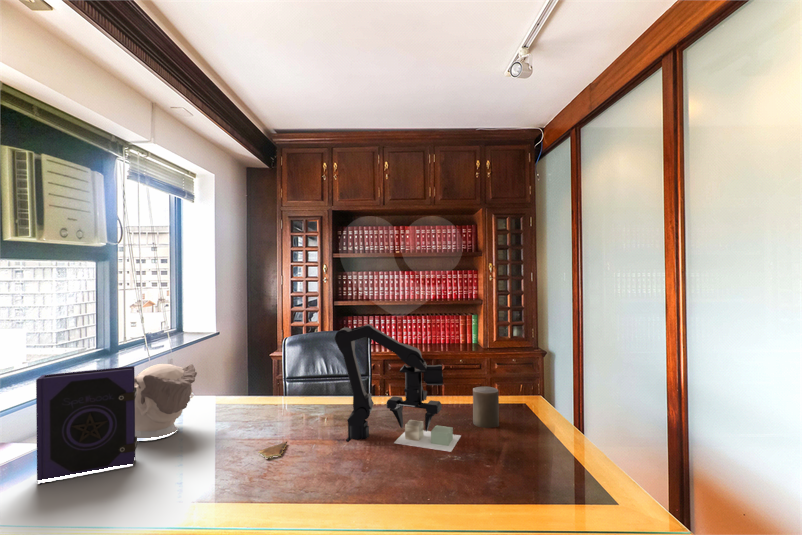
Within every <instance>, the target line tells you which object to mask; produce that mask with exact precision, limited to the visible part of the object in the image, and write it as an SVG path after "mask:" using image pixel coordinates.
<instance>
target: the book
mask: <svg viewBox="0 0 802 535" xmlns="http://www.w3.org/2000/svg"><path fill="white" fill-rule="evenodd" d="M135 377H136V376H135V365H131V366H120V367H119V366H118V367H110V368H99V369H89V370H88V369H87V370H77V371H72V372H71V371H69V372H60V373H49V374H41V375H40V376H39V377H37V378H36V379H35V388H36V389H35V390H36V391H35V392H36V397H35V398H36V399H35V400H36V404H35V405H36V407H35V408H36V481H37V480H42V479H48V478H54V477H60V476H65V475H70V474H76V473H82V472H87V471H92V470H99V469H104V468H108V467H113V466H120V465H127V464H133V463H134V464H135V461H134V457H135V458H136V451H137V450H136V448H137V446H138V441H137V436H136V437H135V398H136V395H137V387H135Z"/></svg>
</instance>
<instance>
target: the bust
mask: <svg viewBox="0 0 802 535" xmlns="http://www.w3.org/2000/svg"><path fill="white" fill-rule="evenodd" d="M197 374H198V372H197V371H196V369H195V367H194V364H193V363H192V364H189V365H188V366H185V367H181V366H178V365H174V364H170V363H157V364H154V365H151V366H149V367H146V368H145V369H144V370H142V371H141V372H139V373H138V374H137V375H136V376H135V387H137V395H136V398H135V437H136V436H137V438H151V437H159V436H163V435H167V434H170V433H172V432H175V431H176V430H177V428H178V427H177V426H176V425H175V422H176V420H177V419H179V417H180V416H181V415H182V413H183V410H185V409H186V408H187V406H188V404H189V403H190V402H191V395H192V393H193V387H192V384H193V383H195V380H196V376H198V375H197Z"/></svg>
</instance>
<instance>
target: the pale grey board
mask: <svg viewBox="0 0 802 535" xmlns="http://www.w3.org/2000/svg"><path fill="white" fill-rule="evenodd" d="M431 431H432V430H431ZM431 431H430V430H428V431H427V432H426V430H424V429H423V435H424V436H423V437H422V438H421V439H420V440H419V441H416V440H409V439H405V431H404V432H402V434H401V435H400V436H399V437H398V438H397V439H396V440H395V441H394V442H393V444H397V445H403V446H411V447H417V448H423V449H431V450H436V451H445V452H449V453H450V452H451V453H452V451H453V449H454V448H455V446H456V445H457V443H458V442H459V441H460V439H461V437H462V435H460V434H454V433H453V440H452V441H451V443H450V444H449V446H446V445H439V444H432V443H431Z"/></svg>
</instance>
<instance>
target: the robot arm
mask: <svg viewBox="0 0 802 535" xmlns="http://www.w3.org/2000/svg"><path fill="white" fill-rule="evenodd" d="M363 338H368V339H370V340H371V341H373V342H375V343H377V344H378V345H380V346H381V347H383V348H385V349H387V350H389V351H390V352H392V353H393V354H395V355H396V356H397V357H398V358H399V359H400V360H401V361H402V362H403V363H405V364H404V365H403V366H402V367H401V368H400V370H399V373H402V374H404V375H405V378H404V379H405V385H404V387H405V388H404V389H403V391H404V393H405V400H403V397H402V396H394V395H393V396H391V397H390V398H389V399H387V401H386V402H385V403H386V406H385V407H386V409H389V412H392V414H393V416H394V417H395V418H396V420H397V423H398V425H399V427H400V429H403V427H404V418H403V417H404V415H403V409H404V407H407V408H414V409H415V408H416V409H424V410H425V414H424V418H425V419H424V429H425V430H424V431H426V432H427V431H429V426H430V425H431V420H432V418H433V417H434V416H435V415H437V414H439V413H440V411H441V410H443V409H442V406H443V404H442V403H441V401H440V400H431V399H430V400H429V401H427V402H424V401H426V400H427V398H428V397H427V395H428V391H427V390H425V389H424V387H423V386H424V385H423V384H422V382H423V383H425V384H426V386H443V385H444V375H443V365H442V364H436V365H434V364H433V365H431V364H428V365H427V362H426V360H424V358H423V357H422V352H421V350H420V349H419V348H418V347H415V346H412V345H411V344H410V345H409V344H406V343H402V342H400V341H398V340H396V339H395V338H393V337H391V336H390V335H388V334H386V333H385V332H382V331H381V330H379V329H377V328H376V327H374V326H373V325H372V324H370V323H369V324H368V323H367V324H365V325H361V326H356V327H353V328H350V327H346V326H345V327H343V328H341V329H340V330H338V331H337V332H336V333H335V335H334V341H335V343H336V346H337V348H338V350H339V351H340V353H341V355H342V356H343V361H344V364H345V368H346V372H347V376H348V380H349V382H350V383H349V384H350V386H351V392H352V407H353V408H352V409H353V410H352V411H351V413H350V415H349V416H348V418H347V438H346V439H345V441H346V442H350V441H351V440H356V441H359V440H367V439H369V437H370V426H369V425H368V422H369V421H368V420H367V419H368V418H369V417H370V416H371V412H372V411H373V406H374V404H375V402H374V401H373V398H372V393H371V392H369V393H367V392H366V390H365V387H364V384H363V383H364V382H363V379H362V375H361V372H360V366H359V363H358V360H357V354H356V350H355V349H356V341H357V340H360V339H363ZM422 374H423V375H422ZM422 376H423V377H422ZM422 379H423V381H422Z"/></svg>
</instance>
